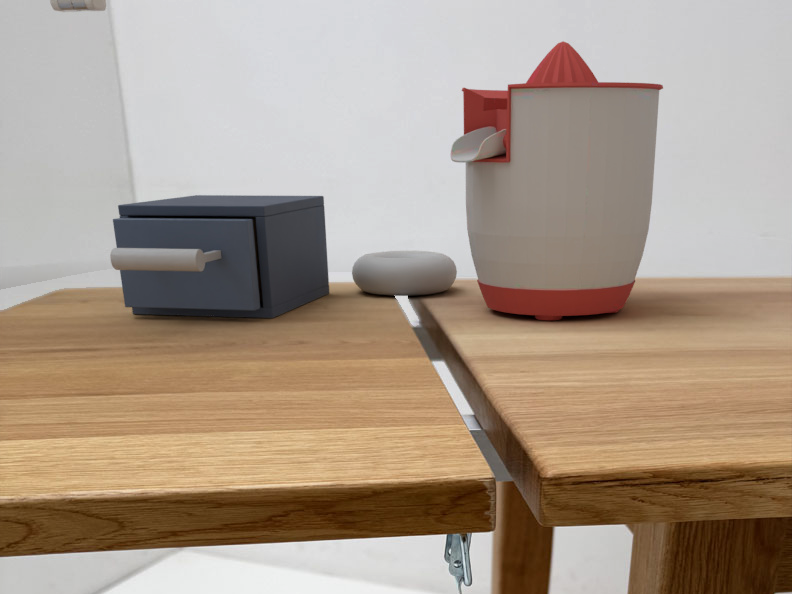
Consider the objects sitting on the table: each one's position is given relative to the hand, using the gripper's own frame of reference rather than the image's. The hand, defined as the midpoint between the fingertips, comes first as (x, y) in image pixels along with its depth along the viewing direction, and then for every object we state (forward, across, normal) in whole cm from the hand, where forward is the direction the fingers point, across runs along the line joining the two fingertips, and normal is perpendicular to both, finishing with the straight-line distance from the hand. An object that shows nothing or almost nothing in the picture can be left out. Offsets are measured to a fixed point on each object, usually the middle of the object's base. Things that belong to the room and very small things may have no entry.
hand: (79, 10), depth 65 cm
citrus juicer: (+21, +28, +20) cm, 40 cm away
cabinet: (+21, 0, +20) cm, 29 cm away
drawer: (+20, 0, +15) cm, 25 cm away
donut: (+21, +13, +30) cm, 39 cm away
